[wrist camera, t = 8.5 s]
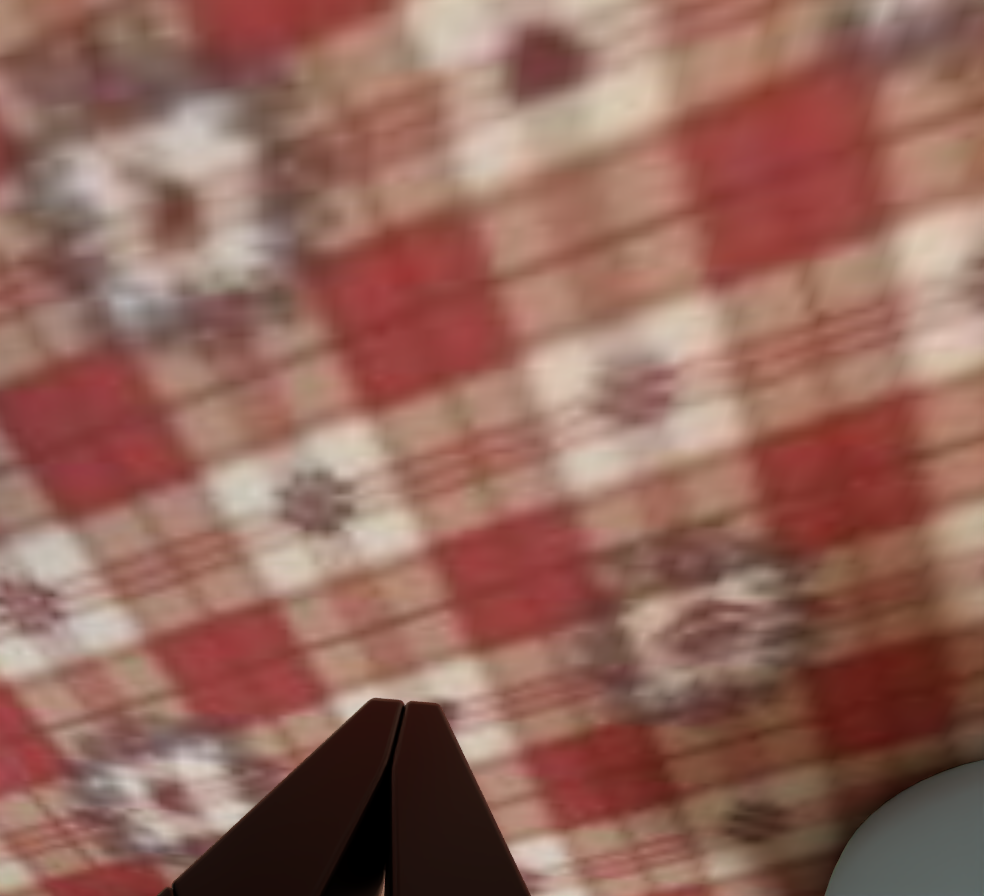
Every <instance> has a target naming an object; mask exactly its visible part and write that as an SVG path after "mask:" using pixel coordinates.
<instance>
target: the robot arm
mask: <svg viewBox="0 0 984 896" xmlns="http://www.w3.org/2000/svg"><path fill="white" fill-rule="evenodd" d="M384 879H385V891H384V896H531V895H530V893H529V891H528V888H527V886H526V884H525V882H524V880H523V878H522V876H521V874H520V872H519V870H518V867H517V865H516V863H515V861H514V859H513V857H512V855H511V853H510V851H509V849H508V846H507V844H506V842H505V840H504V838H503V836H502V834H501V832H500V830H499V828H498V825H497V823H496V821H495V819H494V817H493V815H492V813H491V811H490V809H489V806H488V804H487V802H486V800H485V798H484V796H483V794H482V792H481V790H480V788H479V785H478V783H477V781H476V779H475V777H474V775H473V773H472V771H471V769H470V767H469V764H468V762H467V760H466V758H465V756H464V754H463V752H462V750H461V748H460V746H459V743H458V741H457V739H456V737H455V735H454V733H453V731H452V729H451V727H450V724H449V722H448V720H447V718H446V716H445V714H444V712H443V710H442V708H441V707H440V705H439V704H437V703H429V702H417V701H410V702H408V703H407V704H406V705H404V703H403V702H402V701H401V700H394V699H382V698H373V699H371V700H369V701H368V702H367V703H366V704H364V705H363V706H362V707H361V708H360V709H359V710H358V711H357V712H356V713H355V714H354V715H353V716H352V717H350V718H349V719H348V720H347V721H346V722H345V723H344V724H343V725H342V726H341V727H340V728H339V729H338V730H336V731H335V732H334V733H333V734H332V735H331V736H330V737H329V738H328V739H327V740H326V741H325V742H324V743H322V744H321V745H320V746H319V747H318V748H317V749H316V750H315V751H314V752H313V753H312V754H311V755H310V756H308V757H307V758H306V759H305V760H304V761H303V762H302V763H301V764H300V765H299V766H298V767H297V768H296V769H294V770H293V771H292V772H291V773H290V774H289V775H288V776H287V777H286V778H285V779H284V780H283V781H282V782H280V783H279V784H278V785H277V786H276V787H275V788H274V789H273V790H272V791H271V792H270V793H269V794H268V795H266V796H265V797H264V798H263V799H262V800H261V801H260V802H259V803H258V804H257V805H256V806H255V807H254V808H252V809H251V810H250V811H249V812H248V813H247V814H246V815H245V816H244V817H243V818H242V819H241V820H240V821H238V822H237V823H236V824H235V825H234V826H233V827H232V828H231V829H230V830H229V831H228V832H227V833H226V834H224V835H223V836H222V837H221V838H220V839H219V840H218V841H217V842H216V843H215V844H214V845H213V846H212V847H210V848H209V849H208V850H207V851H206V852H205V853H204V854H203V855H202V856H201V857H200V858H199V859H198V860H196V861H195V862H194V863H193V864H192V865H191V866H190V867H189V868H188V869H187V870H186V871H185V872H184V873H182V874H181V875H180V876H179V877H178V878H177V879H176V880H175V881H174V882H173V883H172V888H170V887H166V888H165V889H164V890H163V891H161V892H160V893H159V894H158V895H157V896H381V893H382V889H383V885H384Z"/></svg>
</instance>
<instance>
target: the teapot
mask: <svg viewBox="0 0 984 896" xmlns="http://www.w3.org/2000/svg"><path fill="white" fill-rule="evenodd" d="M825 896H984V760H980V761H976V762H972V763H968V764H964V765H961V766H958V767H955V768H952V769H949V770H946V771H943V772H940V773H938V774H936V775H934V776H931V777H929V778H927V779H925V780H922V781H920V782H918V783H917V784H915V785H913V786H911V787H909V788H908V789H906V790H904V791H902V792H901V793H899V794H898V795H896V796H895V797H893V798H892V799H890V800H889V801H887V802H886V803H885V804H883V805H882V806H881V807H880V808H879V809H877V810H876V811H875V812H874V813H873V814H871V815H870V816H869V817H868V818H867V819H866V820H865V822H864V823H863V824H862V825H861V826H860V827H859V828H858V829H857V830H856V832H855V833H854V834H853V836H852V837H851V838H850V840H849V841H848V843H847V845H846V846H845V848H844V850H843V852H842V854H841V856H840V858H839V860H838V862H837V864H836V866H835V868H834V870H833V873H832V875H831V878H830V881H829V884H828V887H827V890H826V893H825Z"/></svg>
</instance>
